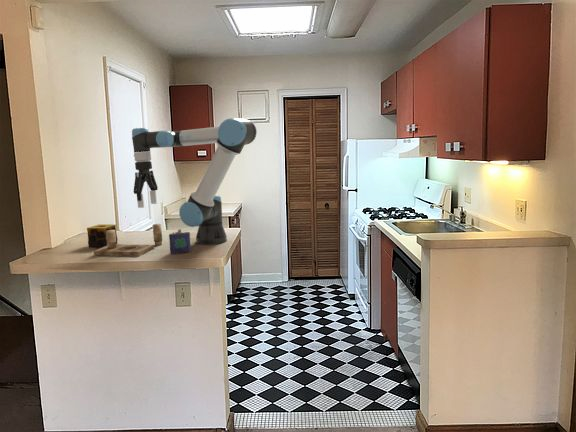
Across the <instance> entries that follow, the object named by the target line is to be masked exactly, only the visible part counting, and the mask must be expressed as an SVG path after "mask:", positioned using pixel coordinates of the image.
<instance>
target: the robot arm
mask: <svg viewBox="0 0 576 432" xmlns="http://www.w3.org/2000/svg"><path fill="white" fill-rule="evenodd" d="M257 132H258V131H257V127H256V125H255V123H253V121H251V120H249V119H247V118H239V117H230V118H227V119H225V120H222V122H221V123H220V125H219V126H214V127H213V126H212V127H211V126H210V127H204V128H203V127H202V128H193V129H186V130H185V129H184V130H173V131H172V130H171V131H170V130H158V131H157V130H156V131H149V128H146V127H138V128H137V127H136V128H133V129H132V130H131V139H132V140H131V141H132V146H133V157H134V165H135V170H136V171H137V172H135V173H134V184H133V193H134V194H135V195H136V201H137V208H138V209H139V208H140V209H141V208H142V209H143V208H145V201H144V194H143V189H144V185H145V183H146V184H147V186H148V188H149V196H150V204H151V205H155V204H158V202H157V192H156V191H158V189H159V188H158V183H157V182H156V179H155V176H154V170H152V169H153V165H152V164H153V163H152V161H151V160H152V154H151V149H154V148H155V149H156V148H163V149H164V148H179V147H187V146H200V145H210V144H216V145H217V147H216V150H215V151H214V153H213V156H212V158H211V160H210V162H209V164H208V166H207V168H206V170H205V172H204V174H203V176H202V178H201V180H200V182H199V184H198V186H197V188H196V191H194V192H191V193H190V195H189V197H188V199H187V201H185V202H184V203H182V205H181V206H180V207H179V209H178V210H179V211H178V212H179V214H178V215H179V217H180V221H182V223H183V224H184V225H186V226H188V227H192V228H194V227H198V228H197V230H196V231H197V232H196V235H195V242H196V244H199V245H215V244H216V243H217V244H221V243H225V242H227V238H228V237H227V236H228V235H227V234H226V232H225V229H224V226H223V209H222V203H223V202H222V197H221V196H220V195H216V194H217V193H218V191H219V189H220V186H221V185H222V183H223V181H224V179H225V177H226V175H227V173H228V171H229V169H230V167H231V164H233V163H232V162H233V161H234V159H235V157H236V156H237V155H240V154H241V153H242V150H243V149H244V147H245V146H246V145H249V144H251V143H253V142H254V141H255V140H256V137H257V134H258V133H257Z"/></svg>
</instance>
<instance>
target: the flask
mask: <svg viewBox="0 0 576 432" xmlns="http://www.w3.org/2000/svg"><path fill="white" fill-rule="evenodd" d="M168 237H169V239H168V240H169V250H170V251H169V252H170V255H177V254H185V253H191V252H192V248H191V247H192V245H191V233H190V231H185V232H182V229H180V228H179V229H177V231H175V232H172V233H169V234H168ZM190 251H191V252H190Z"/></svg>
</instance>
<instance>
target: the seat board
mask: <svg viewBox="0 0 576 432" xmlns="http://www.w3.org/2000/svg"><path fill="white" fill-rule="evenodd" d="M106 238H107V246H105V247H103V248H97V249H96V250H93V256H94V255H110V256H109V257H141V256H142V255H145V254H146V253H149V252H151V251H153V250H154V249H155V248H154V246H155V244H128V243H127V244H123V243H122V244H119V243H117V244H116V234H115V230H107V231H106Z"/></svg>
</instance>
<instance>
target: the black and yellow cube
mask: <svg viewBox="0 0 576 432" xmlns="http://www.w3.org/2000/svg"><path fill="white" fill-rule="evenodd" d="M107 230H115V234H116V244H118V240H119V238H118V233H117V226H116V224H111V223H110V224H108V223H107V224H96V225H92V226H90V227H86V231H87V244H88V245H87V246H88V248H90V249H100V248H103V247H105V246H107V238H106V231H107Z"/></svg>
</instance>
